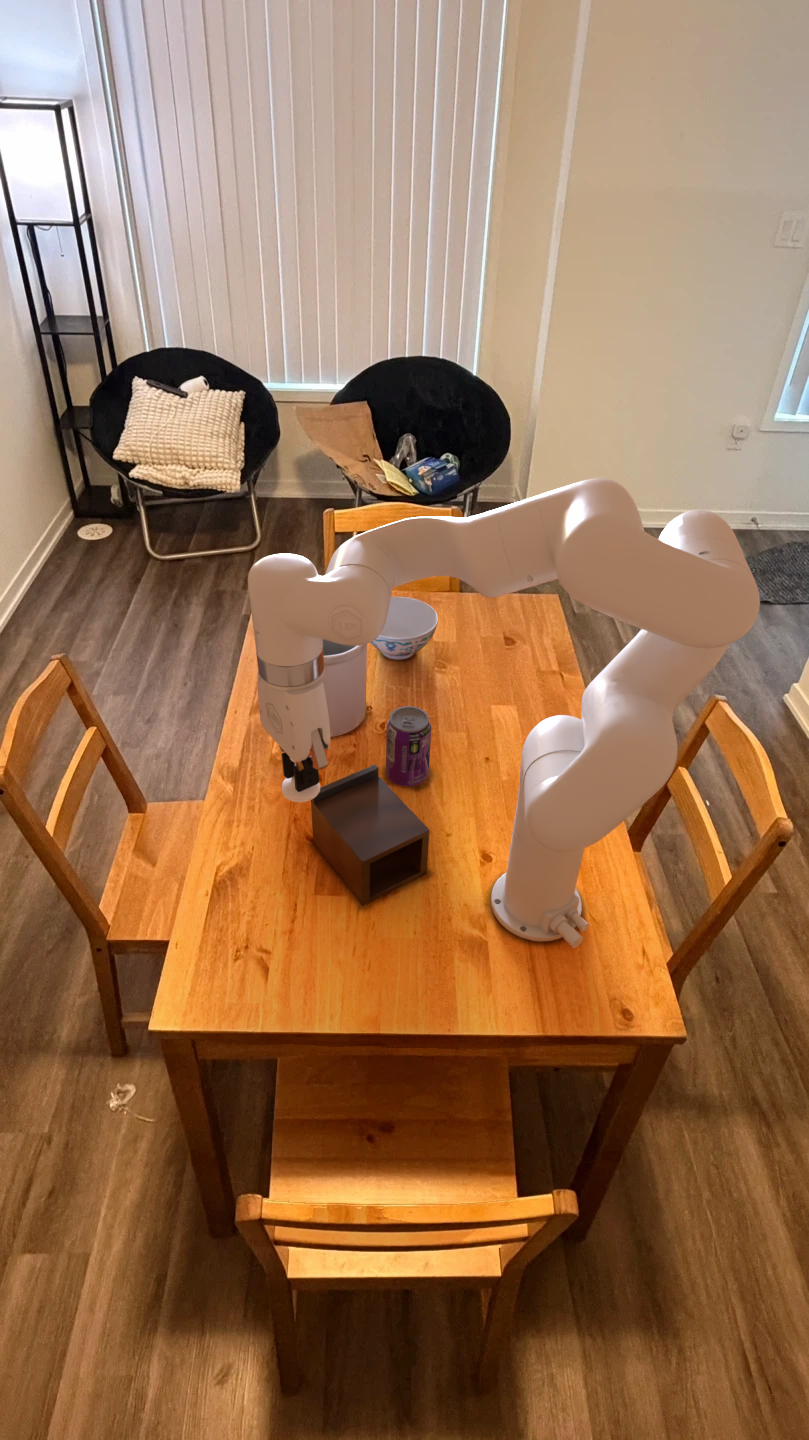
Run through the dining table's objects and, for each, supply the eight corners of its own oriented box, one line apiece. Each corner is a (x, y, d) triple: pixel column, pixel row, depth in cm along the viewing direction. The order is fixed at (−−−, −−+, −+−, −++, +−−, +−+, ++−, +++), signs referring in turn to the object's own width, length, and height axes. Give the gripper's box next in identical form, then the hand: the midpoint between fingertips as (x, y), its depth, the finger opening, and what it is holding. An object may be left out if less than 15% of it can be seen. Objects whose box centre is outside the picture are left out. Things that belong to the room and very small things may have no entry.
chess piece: (284, 775, 112) (278, 716, 105) (321, 776, 112) (318, 717, 105) (279, 802, 108) (273, 742, 101) (318, 802, 108) (314, 743, 101)
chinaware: (357, 630, 173) (357, 597, 169) (430, 628, 175) (432, 595, 170) (362, 673, 162) (362, 639, 157) (440, 670, 163) (443, 636, 158)
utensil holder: (348, 749, 145) (347, 664, 134) (270, 727, 149) (262, 644, 138) (380, 700, 156) (382, 618, 145) (306, 681, 159) (302, 600, 148)
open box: (426, 873, 124) (430, 821, 117) (362, 906, 119) (362, 854, 112) (374, 815, 133) (375, 763, 126) (312, 844, 128) (309, 791, 121)
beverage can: (424, 793, 137) (427, 735, 129) (381, 786, 138) (382, 728, 130) (432, 764, 142) (435, 707, 135) (390, 757, 143) (391, 701, 136)
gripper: (229, 639, 101) (246, 756, 112) (296, 708, 90) (307, 829, 102) (286, 620, 104) (296, 736, 116) (356, 684, 94) (360, 805, 105)
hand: (301, 779), depth 109 cm, fingers closed on chess piece
